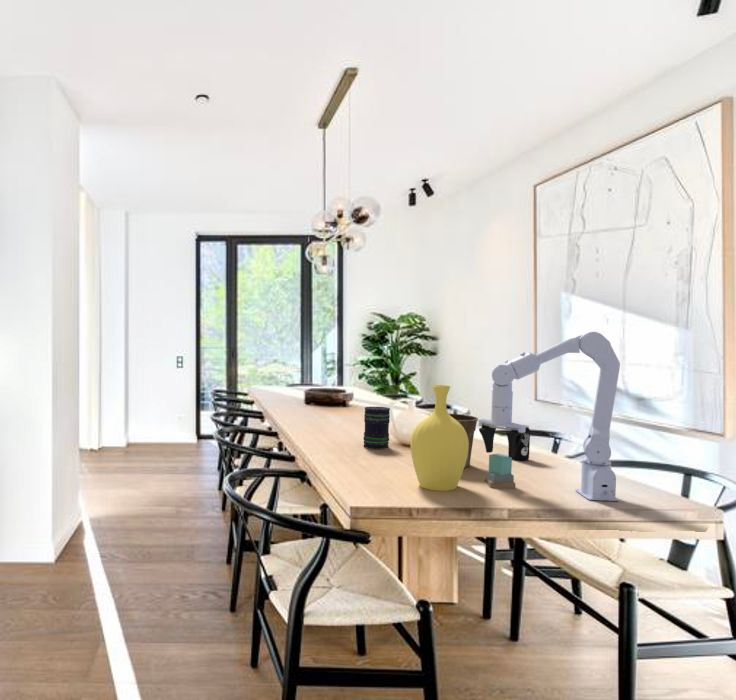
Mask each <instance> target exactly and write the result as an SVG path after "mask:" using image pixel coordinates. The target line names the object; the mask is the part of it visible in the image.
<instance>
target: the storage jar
mask: <svg viewBox="0 0 736 700" xmlns="http://www.w3.org/2000/svg"><path fill="white" fill-rule="evenodd" d="M390 409H391V408H390V407H386V406H365V407H364V416H363V417H364V419H363V420H364V432H363V448H365V449H368V450H387V449H389V443H390V433H389V432H390V431H389V429H390V425H389V424H390V418H391V411H390Z"/></svg>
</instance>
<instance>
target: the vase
mask: <svg viewBox="0 0 736 700" xmlns="http://www.w3.org/2000/svg"><path fill="white" fill-rule="evenodd" d="M432 389H433V392H434V394H435V404H434V405H435V406H434V410H433V412H432V413H430V414H431V415H430V414H429V415H428V416H426V417H424V418H423V419H422V420H421V421H419V423H418V424H416V426H415V428H414V429H413V432H412V433H411V437H410V453H411V459H412V463H413V467H414V472H415V475H416V479H417V482H418V484H419V486H420V487H421V488H422V489H426V490H430V491H437V492H438V491H439V492H449V491H454V490H456V489H457V487H458V484H459V482H460V480H461V477H462V475H463V472H464V469H465V468H464V467H465V463H466V460H467V456H468V450H469V441H468V436H467V433H466V431H465V429H464V428H463V426H462V425H461V424H460V423H459V422H458V421H456V420H455V419H454V418H453V417H451V416H450V415H449V414H450V413H449V412H448V410H447V409H448V408H447V398H448V394H449V392H450V390H451V386H450V385H442V384H434V385H432Z"/></svg>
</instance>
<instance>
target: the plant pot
mask: <svg viewBox="0 0 736 700" xmlns="http://www.w3.org/2000/svg"><path fill="white" fill-rule="evenodd" d="M431 414H432V413H430V414H429V415H431ZM448 414H449V415H450V416H451V417H453V418H454V419H455V420H456V421H458V422H459V423H460V424H461V425H462V426H463V428H464V429H465V431H466V433H467V436H468V441H469V450H468V456H467V460H466V463H465V467H464V469H466V468H469V467H470V465H471V458H472V457H471V456H472V451H473V444H474V443H473V442H474V435H475V431H476V429H477V423H478V422H479V417H477V416H473V415H468V414H460V413H448Z"/></svg>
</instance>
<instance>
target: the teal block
mask: <svg viewBox="0 0 736 700" xmlns="http://www.w3.org/2000/svg"><path fill="white" fill-rule="evenodd" d="M488 456H489V457H488V470H489V473H493V474H497V475H501V476H502V475H507V474H512V467H513V466H512V465H513V464H512V463H513V459H512V457H509V454H503V453H500V452H499V453H494V454H489V455H488Z"/></svg>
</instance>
